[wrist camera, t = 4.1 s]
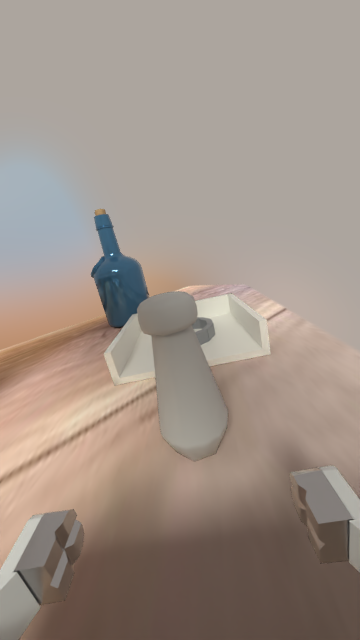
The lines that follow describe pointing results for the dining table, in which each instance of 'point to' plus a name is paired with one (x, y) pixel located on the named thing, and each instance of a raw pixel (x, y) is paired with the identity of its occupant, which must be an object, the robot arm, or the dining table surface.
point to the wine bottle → (117, 276)
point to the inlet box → (212, 333)
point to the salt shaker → (183, 377)
